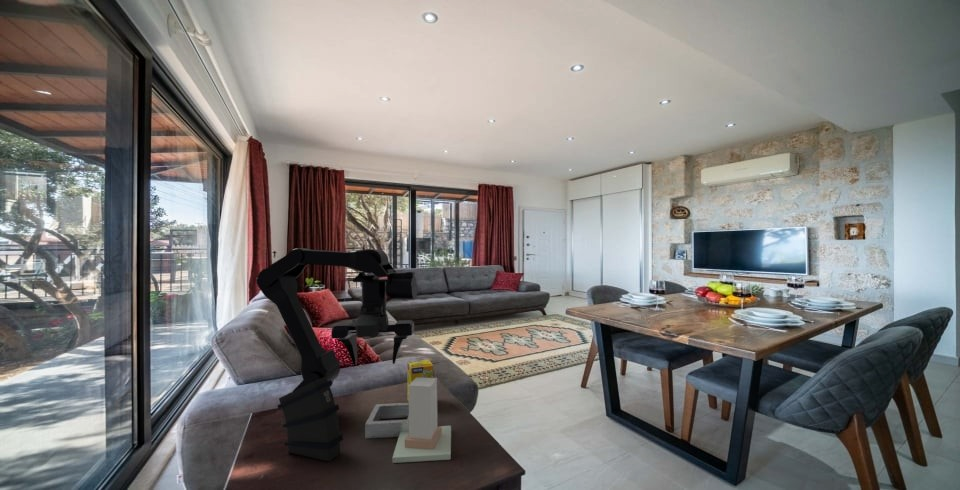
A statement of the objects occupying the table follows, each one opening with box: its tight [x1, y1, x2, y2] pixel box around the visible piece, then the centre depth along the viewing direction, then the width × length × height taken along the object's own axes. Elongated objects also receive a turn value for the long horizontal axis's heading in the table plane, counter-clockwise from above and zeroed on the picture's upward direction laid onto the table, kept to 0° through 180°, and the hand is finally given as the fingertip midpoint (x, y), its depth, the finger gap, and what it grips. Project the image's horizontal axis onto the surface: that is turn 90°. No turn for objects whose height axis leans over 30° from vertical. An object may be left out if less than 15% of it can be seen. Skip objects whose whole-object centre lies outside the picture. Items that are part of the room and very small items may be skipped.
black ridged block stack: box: [277, 376, 344, 462], centre depth 68 cm, size 4×13×15 cm, turn 71°
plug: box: [405, 377, 442, 449], centre depth 70 cm, size 6×6×12 cm
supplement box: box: [406, 359, 434, 403], centre depth 90 cm, size 6×6×11 cm
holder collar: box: [364, 402, 409, 439], centre depth 79 cm, size 10×10×3 cm
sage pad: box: [392, 425, 452, 464], centre depth 70 cm, size 11×11×1 cm
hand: (374, 364), depth 83 cm, fingers open, 9 cm apart
